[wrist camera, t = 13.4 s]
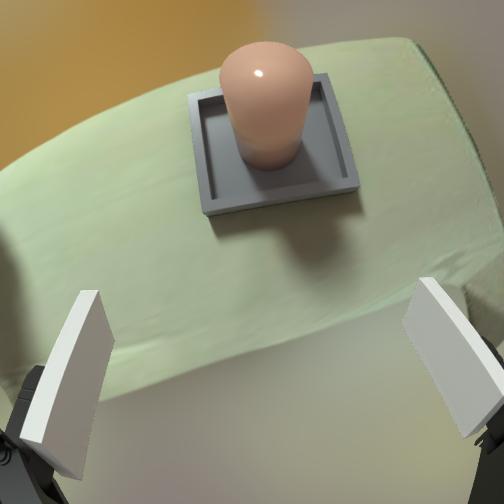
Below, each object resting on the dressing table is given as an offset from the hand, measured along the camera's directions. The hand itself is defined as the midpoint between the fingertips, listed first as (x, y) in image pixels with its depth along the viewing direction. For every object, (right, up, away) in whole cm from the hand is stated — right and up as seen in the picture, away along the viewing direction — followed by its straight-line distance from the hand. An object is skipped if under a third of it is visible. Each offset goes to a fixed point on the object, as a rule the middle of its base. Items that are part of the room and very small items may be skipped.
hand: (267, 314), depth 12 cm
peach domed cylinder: (+1, +14, +19) cm, 23 cm away
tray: (+1, +14, +20) cm, 24 cm away
